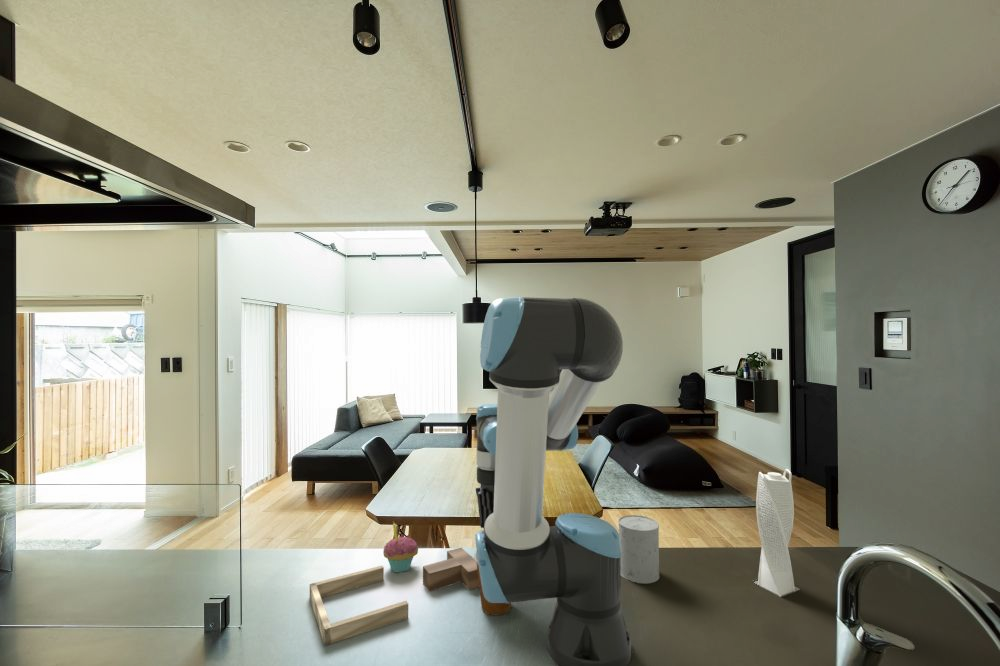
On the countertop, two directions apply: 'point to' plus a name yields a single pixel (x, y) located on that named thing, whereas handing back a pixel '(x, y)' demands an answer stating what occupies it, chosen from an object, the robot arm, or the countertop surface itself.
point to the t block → (451, 571)
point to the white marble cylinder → (639, 548)
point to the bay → (357, 623)
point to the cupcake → (400, 552)
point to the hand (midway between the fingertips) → (491, 560)
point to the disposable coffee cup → (487, 606)
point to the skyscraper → (775, 532)
